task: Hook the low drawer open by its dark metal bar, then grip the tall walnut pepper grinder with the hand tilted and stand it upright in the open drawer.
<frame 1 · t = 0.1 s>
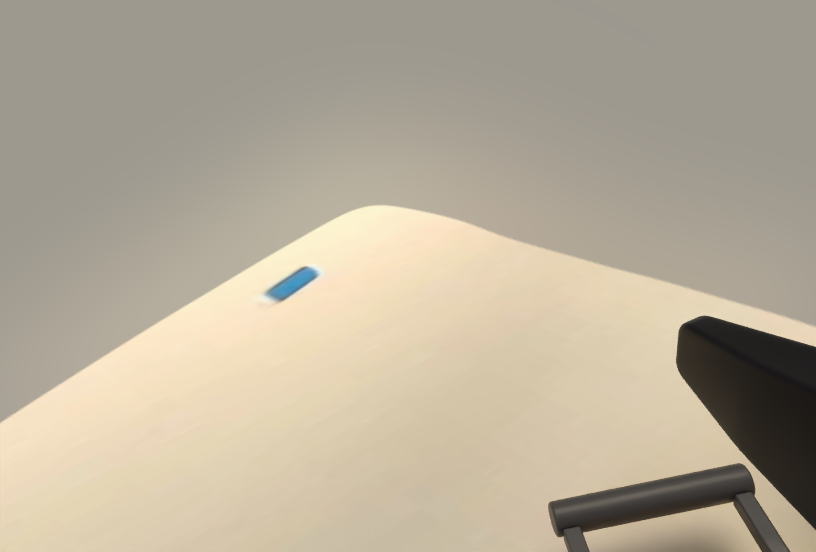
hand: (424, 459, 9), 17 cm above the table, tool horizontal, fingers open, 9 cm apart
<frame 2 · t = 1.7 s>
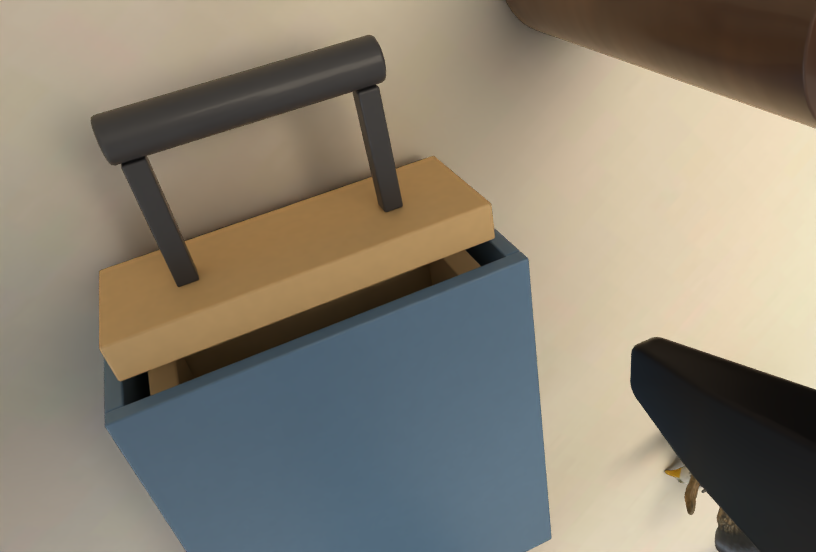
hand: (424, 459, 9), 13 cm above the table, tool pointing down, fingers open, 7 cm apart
drawer: (326, 346, 21), point 3 cm above the table, slide at 0.5 cm
cabinet: (335, 391, 26), on the table
eagle figurine: (693, 448, 39), on the table
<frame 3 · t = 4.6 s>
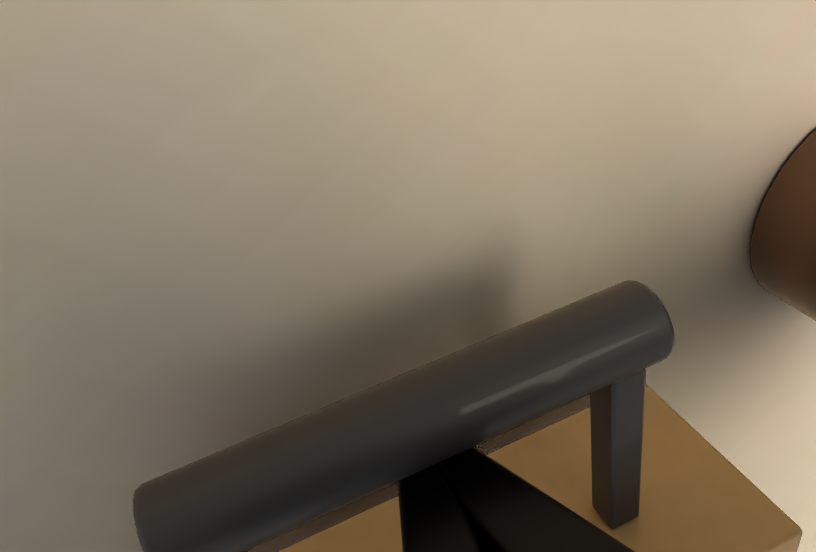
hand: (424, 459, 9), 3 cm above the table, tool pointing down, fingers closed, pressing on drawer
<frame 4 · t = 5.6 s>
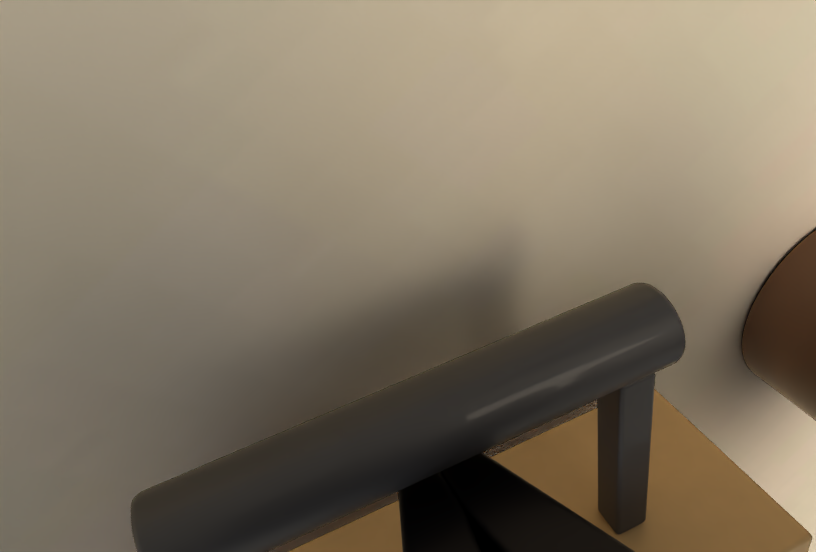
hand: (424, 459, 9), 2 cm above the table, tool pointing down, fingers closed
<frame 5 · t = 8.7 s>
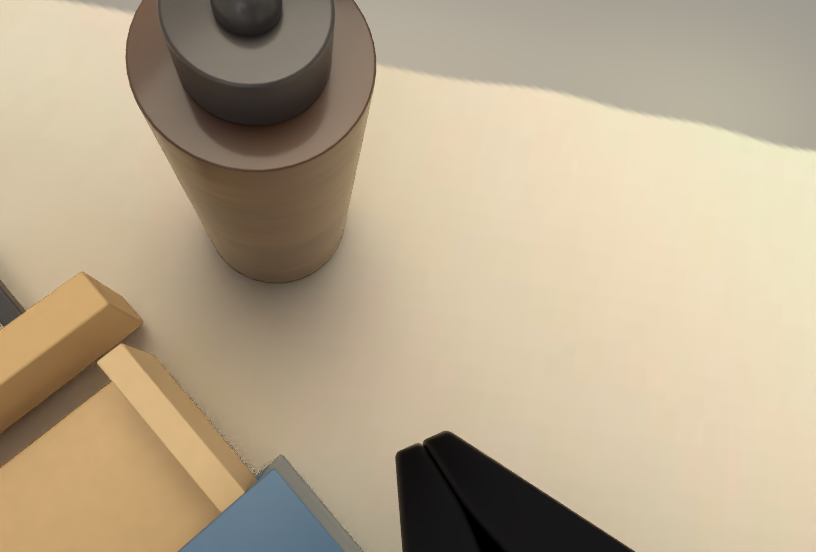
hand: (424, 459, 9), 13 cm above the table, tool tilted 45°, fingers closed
drawer: (31, 524, 18), point 3 cm above the table, slide at 6.1 cm
grinder: (277, 217, 23), on the table
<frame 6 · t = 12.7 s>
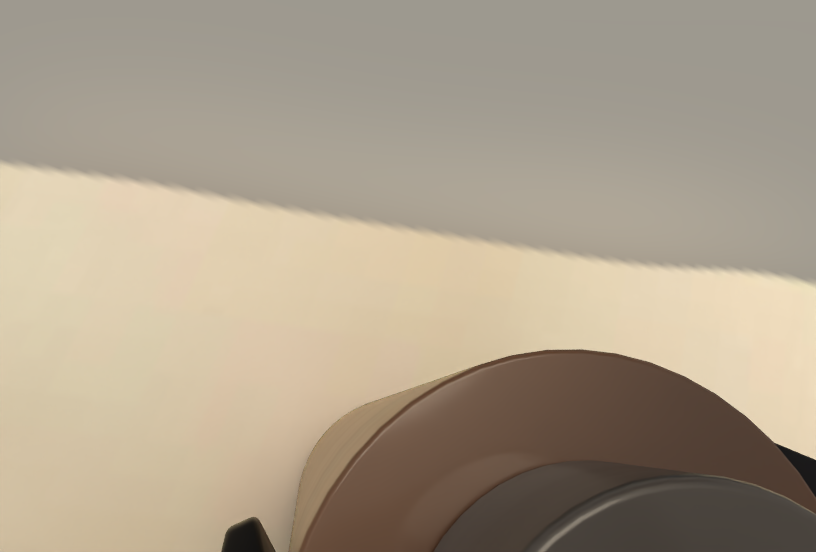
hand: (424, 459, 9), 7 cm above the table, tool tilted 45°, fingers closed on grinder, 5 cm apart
grinder: (399, 500, 16), on the table, touching gripper
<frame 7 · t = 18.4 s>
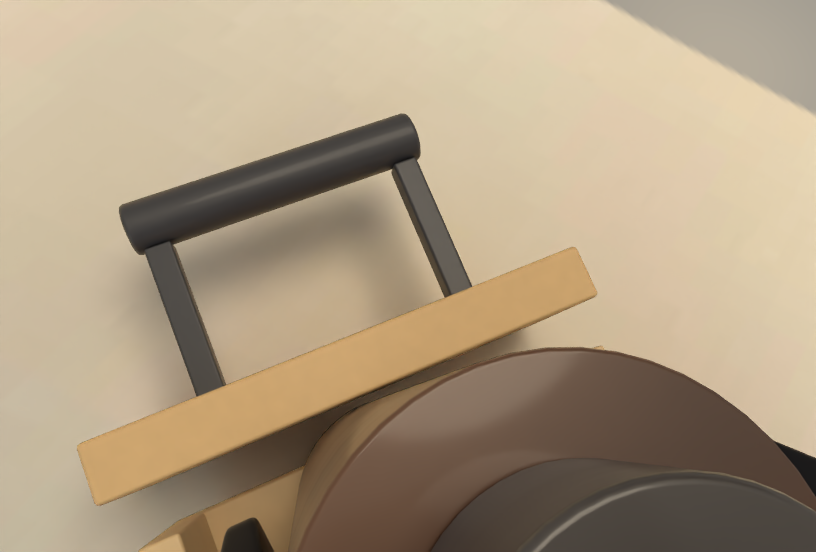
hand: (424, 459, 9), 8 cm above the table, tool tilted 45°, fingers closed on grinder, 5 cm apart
drawer: (413, 522, 15), point 3 cm above the table, slide at 6.3 cm, touching grinder
grinder: (399, 500, 16), point 2 cm above the table, touching drawer, gripper
when the fingers open (8 cm above the table, at t = 18.6 s): grinder stays where it is, resting on drawer.
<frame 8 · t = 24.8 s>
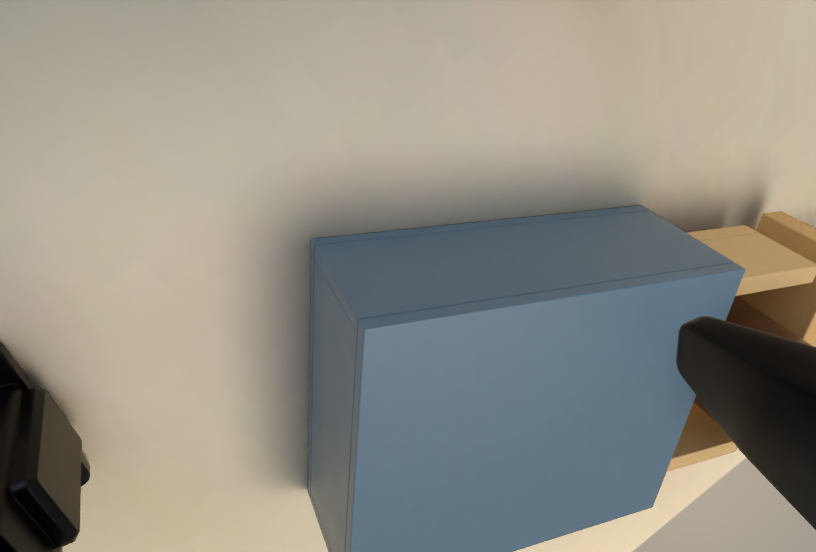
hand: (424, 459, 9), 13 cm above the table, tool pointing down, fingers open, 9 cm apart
drawer: (706, 348, 29), point 3 cm above the table, slide at 6.3 cm, touching grinder
grinder: (696, 333, 30), point 2 cm above the table, touching drawer
cabinet: (472, 349, 27), on the table
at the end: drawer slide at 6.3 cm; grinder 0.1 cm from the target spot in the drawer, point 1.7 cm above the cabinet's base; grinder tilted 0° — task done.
